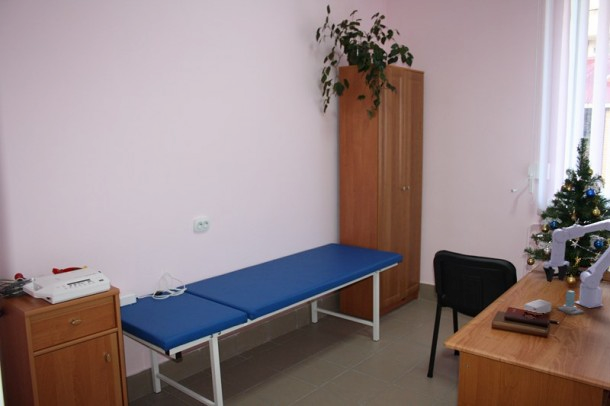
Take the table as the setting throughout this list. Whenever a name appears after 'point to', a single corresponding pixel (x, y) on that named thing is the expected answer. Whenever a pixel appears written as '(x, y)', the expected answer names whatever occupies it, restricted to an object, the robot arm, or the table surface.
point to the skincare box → (538, 306)
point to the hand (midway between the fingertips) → (555, 280)
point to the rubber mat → (571, 311)
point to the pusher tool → (570, 301)
